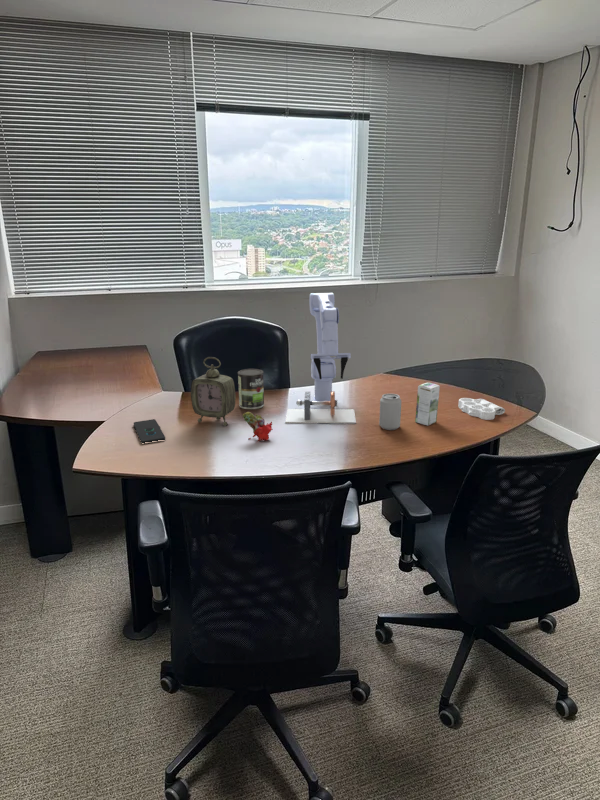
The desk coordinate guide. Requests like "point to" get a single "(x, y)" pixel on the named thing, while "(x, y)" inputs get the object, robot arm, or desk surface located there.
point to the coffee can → (251, 388)
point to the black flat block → (148, 431)
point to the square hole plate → (307, 406)
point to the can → (390, 411)
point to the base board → (321, 416)
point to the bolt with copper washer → (323, 403)
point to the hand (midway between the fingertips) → (331, 378)
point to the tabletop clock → (213, 394)
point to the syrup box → (427, 403)
